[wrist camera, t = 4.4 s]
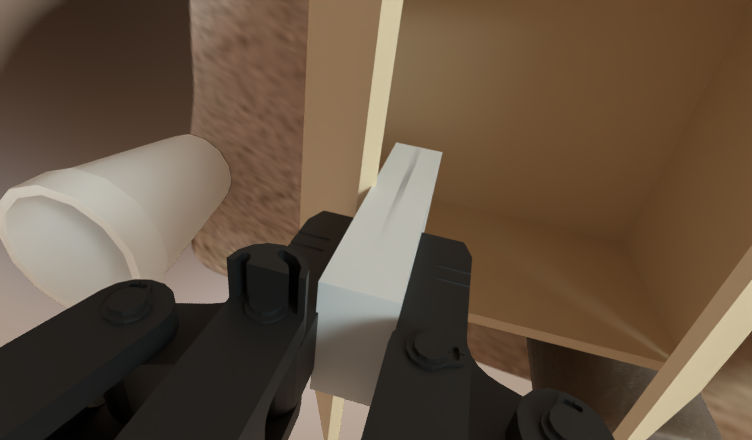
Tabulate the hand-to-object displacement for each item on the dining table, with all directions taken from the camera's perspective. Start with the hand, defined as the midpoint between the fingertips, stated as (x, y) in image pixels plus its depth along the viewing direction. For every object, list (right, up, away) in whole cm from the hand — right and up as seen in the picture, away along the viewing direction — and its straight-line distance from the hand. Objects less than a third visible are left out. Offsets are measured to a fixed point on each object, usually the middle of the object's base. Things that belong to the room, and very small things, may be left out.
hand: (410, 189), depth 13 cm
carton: (+9, +7, +14) cm, 18 cm away
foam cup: (-16, +3, +23) cm, 29 cm away
